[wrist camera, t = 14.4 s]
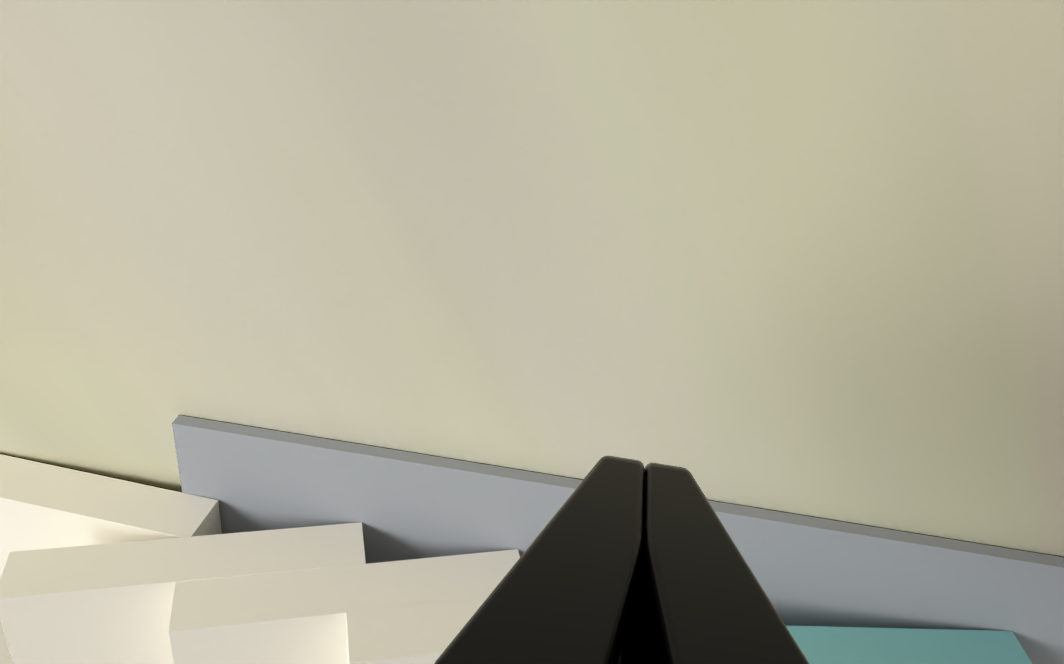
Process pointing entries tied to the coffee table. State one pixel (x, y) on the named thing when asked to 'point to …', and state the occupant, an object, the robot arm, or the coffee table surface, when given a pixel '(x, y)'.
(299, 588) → the domino
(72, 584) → the domino
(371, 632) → the domino
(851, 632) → the domino
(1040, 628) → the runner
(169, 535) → the domino
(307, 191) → the coffee table surface
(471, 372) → the coffee table surface
